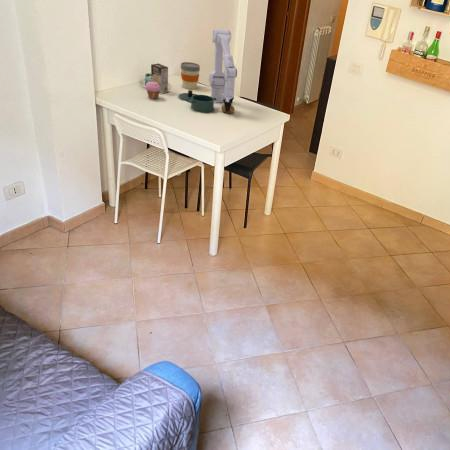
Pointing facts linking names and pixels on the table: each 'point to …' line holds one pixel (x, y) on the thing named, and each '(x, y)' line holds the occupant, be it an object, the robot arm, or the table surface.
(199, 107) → the pot
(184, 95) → the pot lid
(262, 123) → the table surface
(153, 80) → the coffee box
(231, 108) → the brown cylinder
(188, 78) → the reusable coffee cup
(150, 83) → the cupcake
